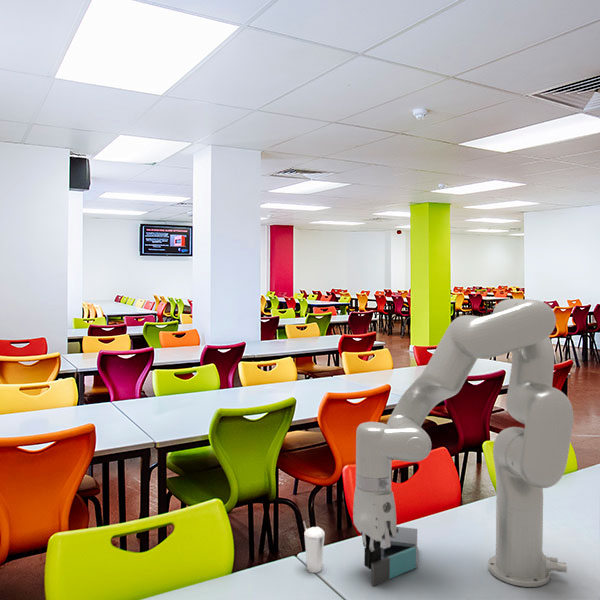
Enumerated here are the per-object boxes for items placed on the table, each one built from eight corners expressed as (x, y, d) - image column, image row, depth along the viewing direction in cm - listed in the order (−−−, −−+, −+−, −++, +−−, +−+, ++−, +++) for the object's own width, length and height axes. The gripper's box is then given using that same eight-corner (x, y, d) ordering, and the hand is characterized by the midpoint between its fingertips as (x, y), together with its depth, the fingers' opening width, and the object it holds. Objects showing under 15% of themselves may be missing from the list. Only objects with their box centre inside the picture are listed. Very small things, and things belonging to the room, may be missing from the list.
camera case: (417, 549, 131) (417, 526, 131) (415, 566, 123) (415, 541, 123) (383, 545, 133) (383, 522, 133) (379, 561, 125) (379, 537, 125)
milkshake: (309, 561, 125) (309, 517, 125) (328, 568, 122) (328, 524, 122) (297, 568, 122) (297, 524, 122) (316, 577, 118) (316, 531, 118)
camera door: (415, 564, 123) (415, 545, 123) (418, 566, 122) (418, 547, 122) (370, 583, 115) (370, 563, 115) (374, 585, 114) (374, 565, 114)
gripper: (410, 489, 113) (409, 578, 113) (367, 468, 126) (366, 547, 126) (380, 496, 109) (379, 587, 110) (339, 473, 122) (339, 555, 123)
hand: (372, 565), depth 118 cm, fingers closed
